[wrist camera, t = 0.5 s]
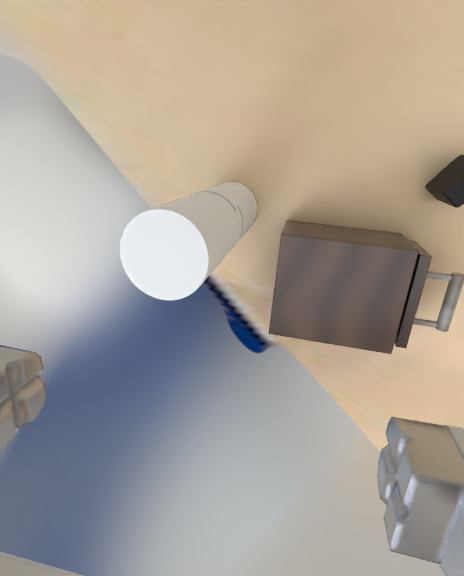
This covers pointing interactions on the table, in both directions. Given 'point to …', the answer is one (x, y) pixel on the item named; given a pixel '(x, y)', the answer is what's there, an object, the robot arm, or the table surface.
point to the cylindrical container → (185, 239)
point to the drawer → (415, 294)
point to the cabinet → (341, 285)
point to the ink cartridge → (449, 183)
